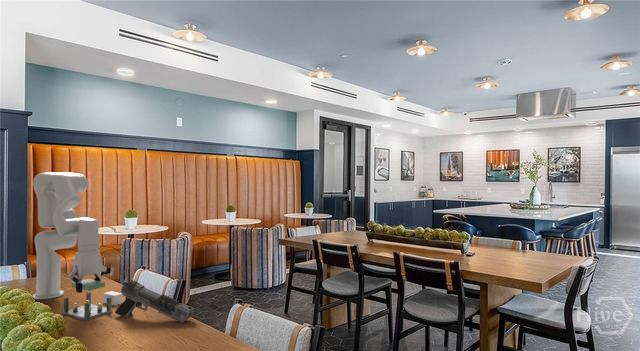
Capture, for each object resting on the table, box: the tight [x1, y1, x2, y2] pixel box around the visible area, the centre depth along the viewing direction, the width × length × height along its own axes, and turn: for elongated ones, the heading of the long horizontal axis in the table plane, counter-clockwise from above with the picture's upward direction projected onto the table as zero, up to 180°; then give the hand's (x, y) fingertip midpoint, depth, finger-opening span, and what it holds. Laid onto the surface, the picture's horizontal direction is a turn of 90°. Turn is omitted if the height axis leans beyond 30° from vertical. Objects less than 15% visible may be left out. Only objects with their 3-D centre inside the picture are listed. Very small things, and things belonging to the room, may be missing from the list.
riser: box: [102, 290, 123, 307], centre depth 182 cm, size 8×4×4 cm, turn 61°
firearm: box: [114, 279, 195, 324], centre depth 163 cm, size 4×33×15 cm, turn 79°
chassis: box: [61, 291, 114, 321], centre depth 169 cm, size 16×12×6 cm
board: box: [71, 278, 106, 292], centre depth 169 cm, size 12×7×2 cm, turn 61°
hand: (88, 289), depth 169 cm, fingers closed on board, 7 cm apart
